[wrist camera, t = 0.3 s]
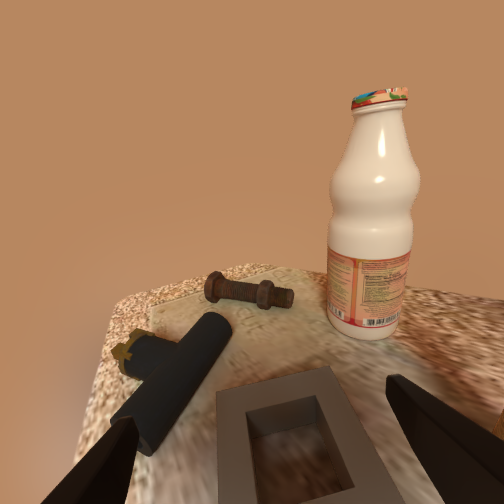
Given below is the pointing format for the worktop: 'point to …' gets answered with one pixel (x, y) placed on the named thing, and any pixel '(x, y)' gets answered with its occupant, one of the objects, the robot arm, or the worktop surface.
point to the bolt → (247, 292)
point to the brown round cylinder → (499, 427)
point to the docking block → (290, 416)
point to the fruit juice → (371, 219)
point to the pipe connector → (167, 374)
